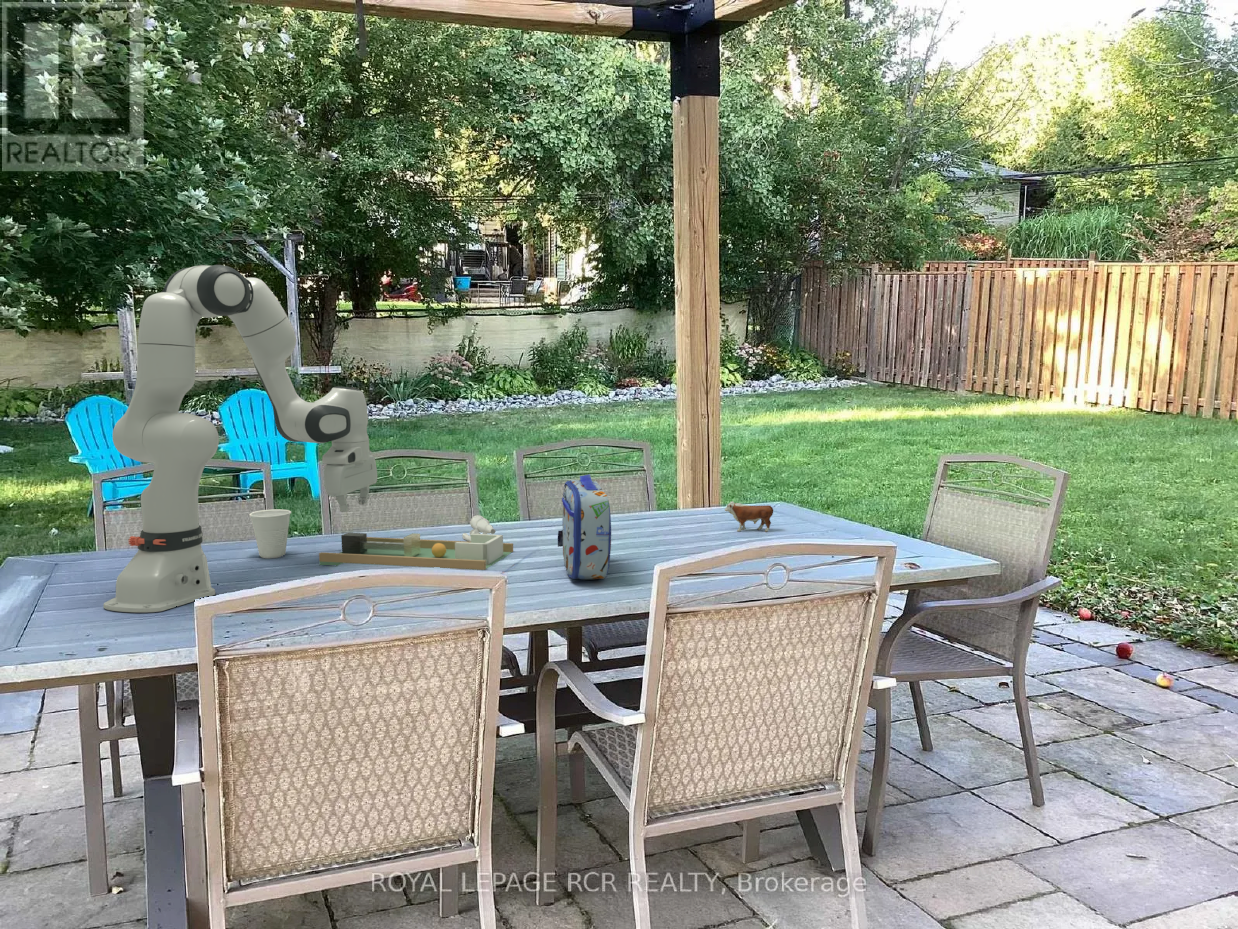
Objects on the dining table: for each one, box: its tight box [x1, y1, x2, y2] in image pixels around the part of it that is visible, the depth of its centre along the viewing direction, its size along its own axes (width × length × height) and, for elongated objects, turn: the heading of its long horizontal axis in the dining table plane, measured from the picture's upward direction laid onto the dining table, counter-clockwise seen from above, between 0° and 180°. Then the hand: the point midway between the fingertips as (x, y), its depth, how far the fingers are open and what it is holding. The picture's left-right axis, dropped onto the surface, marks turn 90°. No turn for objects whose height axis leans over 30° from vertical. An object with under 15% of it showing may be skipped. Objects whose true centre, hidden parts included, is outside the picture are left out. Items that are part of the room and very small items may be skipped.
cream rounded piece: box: [461, 514, 496, 542], centre depth 265 cm, size 8×14×5 cm
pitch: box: [318, 536, 514, 571], centre depth 245 cm, size 20×42×3 cm, turn 77°
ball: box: [432, 543, 446, 557], centre depth 244 cm, size 4×4×4 cm
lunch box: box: [557, 474, 612, 580], centre depth 231 cm, size 28×10×22 cm, turn 9°
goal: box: [455, 533, 504, 565], centre depth 242 cm, size 11×8×5 cm
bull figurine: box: [724, 501, 774, 533], centre depth 279 cm, size 4×13×8 cm, turn 82°
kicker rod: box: [340, 532, 421, 557], centre depth 247 cm, size 5×19×5 cm, turn 77°
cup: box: [248, 508, 292, 559], centre depth 251 cm, size 10×10×11 cm
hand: (354, 507), depth 248 cm, fingers open, 8 cm apart
